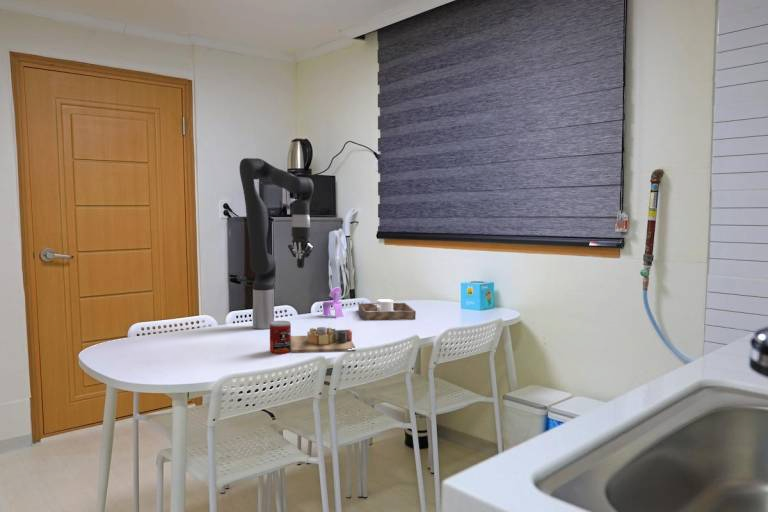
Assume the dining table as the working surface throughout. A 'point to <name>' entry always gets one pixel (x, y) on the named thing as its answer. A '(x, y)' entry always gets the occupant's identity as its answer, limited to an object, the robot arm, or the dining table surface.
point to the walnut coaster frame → (386, 312)
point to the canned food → (280, 337)
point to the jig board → (303, 346)
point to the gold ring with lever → (327, 336)
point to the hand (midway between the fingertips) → (300, 267)
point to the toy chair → (334, 303)
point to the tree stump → (384, 305)
